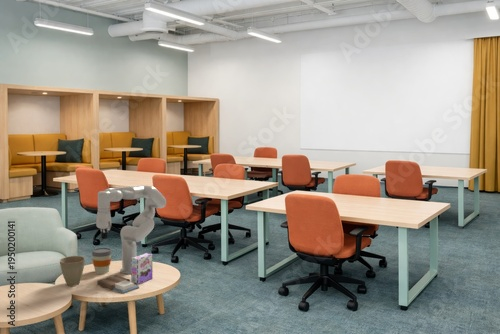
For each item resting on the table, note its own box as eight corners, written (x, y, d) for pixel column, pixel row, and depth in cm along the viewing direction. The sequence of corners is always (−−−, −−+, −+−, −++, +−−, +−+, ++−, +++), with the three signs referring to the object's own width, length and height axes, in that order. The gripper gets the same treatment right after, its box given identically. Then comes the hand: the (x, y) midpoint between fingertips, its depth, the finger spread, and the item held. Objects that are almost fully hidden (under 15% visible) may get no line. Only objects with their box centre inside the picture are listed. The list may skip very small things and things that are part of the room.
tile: (125, 284, 286) (125, 280, 285) (133, 286, 281) (133, 283, 281) (114, 287, 279) (114, 283, 279) (123, 290, 274) (123, 286, 274)
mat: (128, 284, 288) (128, 282, 288) (139, 288, 282) (139, 286, 282) (112, 289, 278) (112, 288, 278) (123, 293, 272) (123, 292, 272)
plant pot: (66, 279, 295) (66, 255, 293) (89, 280, 294) (88, 256, 293) (55, 287, 280) (55, 262, 279) (79, 288, 279) (78, 263, 278)
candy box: (137, 284, 288) (137, 259, 286) (130, 282, 291) (130, 257, 289) (152, 278, 300) (152, 254, 298) (146, 276, 303) (146, 252, 301)
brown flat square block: (115, 279, 297) (115, 274, 296) (129, 284, 288) (129, 279, 288) (97, 285, 285) (97, 280, 285) (111, 290, 277) (111, 285, 277)
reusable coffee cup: (108, 274, 305) (107, 253, 304) (89, 274, 305) (89, 252, 304) (114, 269, 318) (113, 247, 316) (96, 268, 318) (95, 247, 317)
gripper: (91, 209, 294) (92, 237, 296) (106, 212, 285) (106, 241, 287) (101, 208, 300) (102, 235, 302) (116, 210, 291) (116, 239, 293)
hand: (104, 238), depth 294 cm, fingers closed
